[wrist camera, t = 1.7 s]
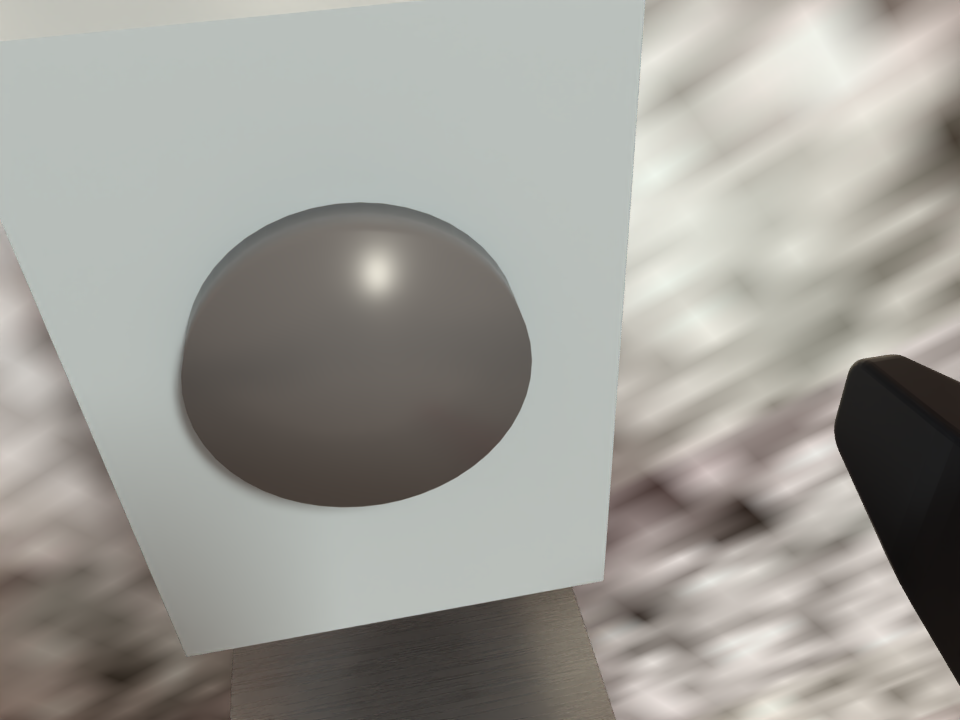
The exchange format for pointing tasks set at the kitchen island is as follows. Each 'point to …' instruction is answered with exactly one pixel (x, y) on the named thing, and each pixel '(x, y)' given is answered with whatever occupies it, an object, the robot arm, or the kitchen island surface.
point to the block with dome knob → (333, 289)
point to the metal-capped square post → (432, 667)
